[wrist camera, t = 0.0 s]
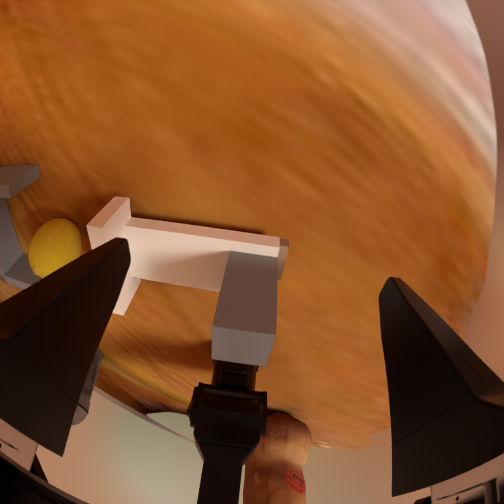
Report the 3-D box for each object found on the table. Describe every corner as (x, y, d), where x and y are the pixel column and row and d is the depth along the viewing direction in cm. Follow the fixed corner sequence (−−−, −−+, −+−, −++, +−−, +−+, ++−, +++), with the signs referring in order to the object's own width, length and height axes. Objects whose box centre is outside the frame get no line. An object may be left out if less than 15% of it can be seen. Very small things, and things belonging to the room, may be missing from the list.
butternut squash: (323, 414, 50) (324, 523, 30) (276, 427, 57) (270, 523, 36) (278, 396, 45) (270, 528, 25) (230, 411, 52) (216, 521, 32)
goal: (65, 271, 31) (46, 297, 27) (20, 259, 31) (2, 281, 27) (38, 164, 22) (7, 184, 18) (-8, 166, 22) (-34, 184, 18)
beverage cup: (94, 362, 46) (61, 448, 30) (69, 339, 42) (28, 429, 26) (117, 361, 44) (82, 458, 28) (89, 336, 40) (45, 438, 24)
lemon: (91, 254, 29) (56, 302, 23) (56, 234, 28) (18, 277, 21) (97, 218, 26) (55, 266, 20) (59, 197, 25) (13, 239, 18)
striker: (265, 301, 29) (259, 383, 21) (128, 279, 29) (92, 348, 21) (284, 217, 23) (285, 302, 15) (115, 196, 23) (54, 261, 15)
